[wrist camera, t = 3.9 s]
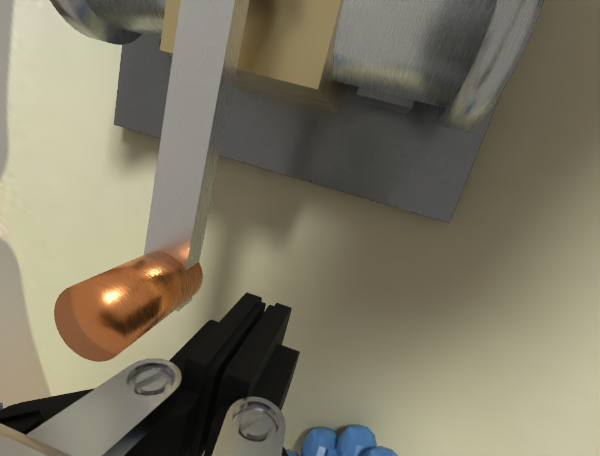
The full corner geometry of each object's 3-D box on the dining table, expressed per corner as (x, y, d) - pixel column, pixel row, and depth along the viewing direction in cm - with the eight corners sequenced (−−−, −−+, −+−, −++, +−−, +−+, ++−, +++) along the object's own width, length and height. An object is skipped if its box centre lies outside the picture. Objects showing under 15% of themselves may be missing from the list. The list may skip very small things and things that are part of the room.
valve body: (155, -131, 21) (-32, -381, 11) (557, -67, 17) (791, -348, 8) (125, 126, 25) (-30, 106, 15) (444, 219, 21) (504, 270, 12)
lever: (212, -106, 11) (88, -309, 6) (290, -93, 11) (223, -300, 6) (151, 282, 15) (46, 342, 10) (208, 302, 14) (126, 375, 10)
